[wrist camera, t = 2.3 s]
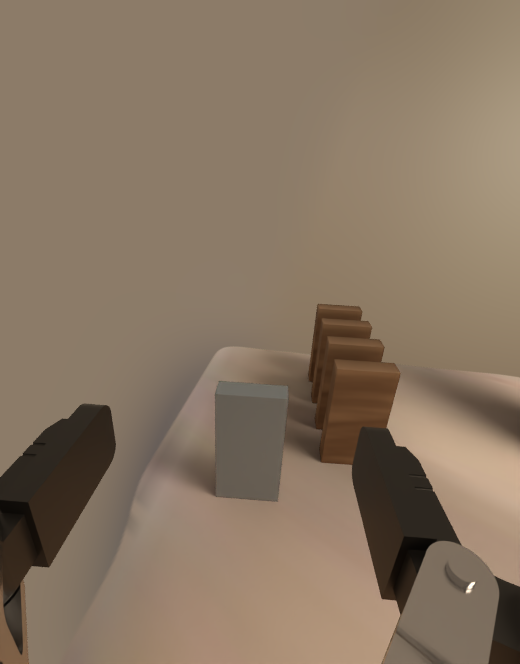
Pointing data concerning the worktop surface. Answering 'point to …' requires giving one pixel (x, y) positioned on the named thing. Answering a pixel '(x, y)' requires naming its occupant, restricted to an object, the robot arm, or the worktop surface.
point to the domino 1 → (249, 439)
